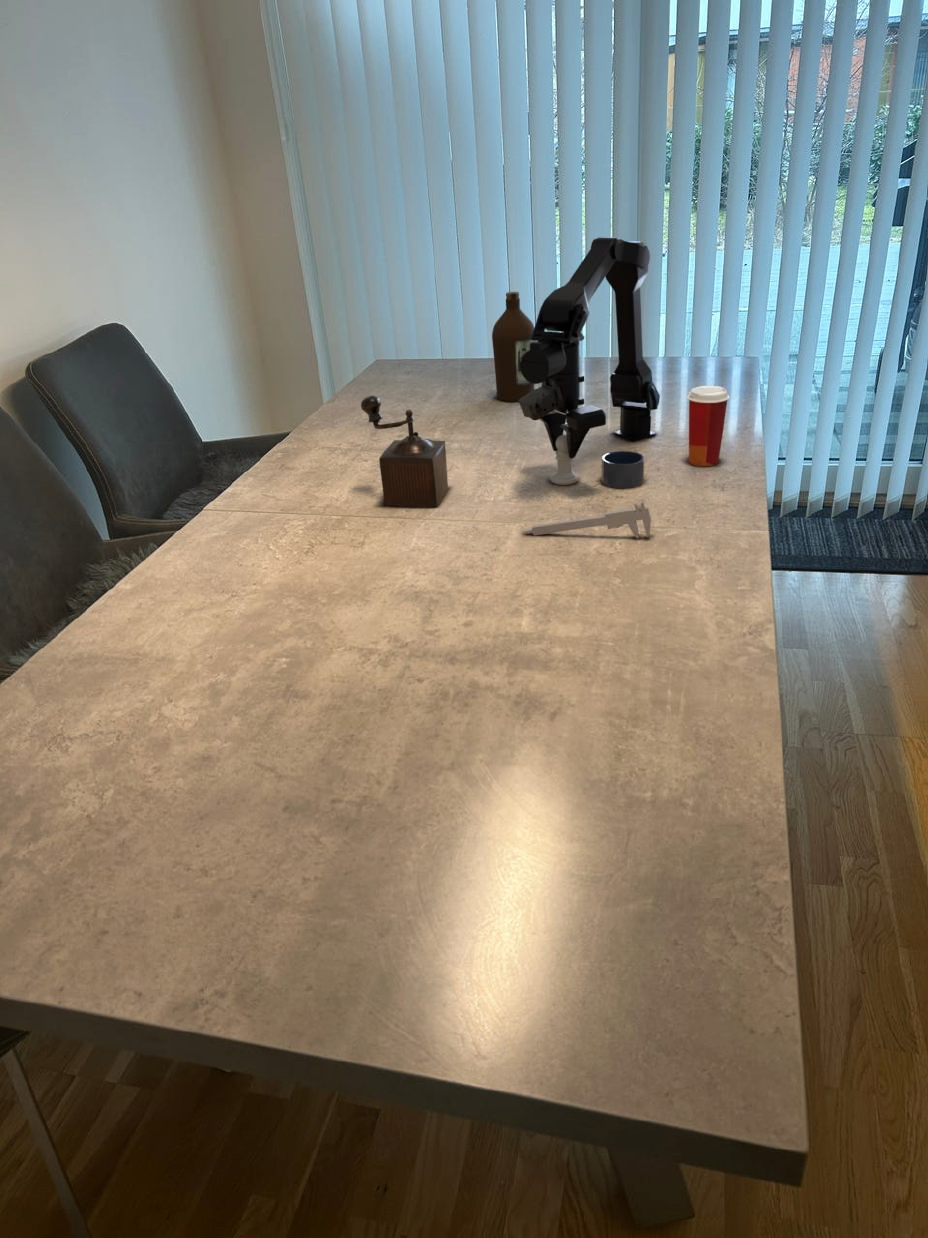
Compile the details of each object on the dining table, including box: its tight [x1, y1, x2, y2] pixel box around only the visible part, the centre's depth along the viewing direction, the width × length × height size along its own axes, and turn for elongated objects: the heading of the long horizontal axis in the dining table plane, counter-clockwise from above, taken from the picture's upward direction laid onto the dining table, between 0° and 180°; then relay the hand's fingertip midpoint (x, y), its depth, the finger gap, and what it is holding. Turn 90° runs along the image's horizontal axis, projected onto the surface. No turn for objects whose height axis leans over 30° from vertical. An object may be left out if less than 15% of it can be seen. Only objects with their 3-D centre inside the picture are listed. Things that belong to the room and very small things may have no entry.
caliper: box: [524, 500, 652, 539], centre depth 145 cm, size 20×1×6 cm, turn 78°
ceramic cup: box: [600, 450, 646, 489], centre depth 166 cm, size 8×8×5 cm
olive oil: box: [491, 291, 537, 403], centre depth 218 cm, size 11×11×25 cm
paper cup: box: [686, 385, 730, 467], centre depth 171 cm, size 8×8×14 cm
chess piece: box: [549, 433, 579, 486], centre depth 167 cm, size 5×5×9 cm
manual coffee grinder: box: [360, 395, 450, 508], centre depth 163 cm, size 16×11×18 cm
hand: (564, 454), depth 167 cm, fingers open, 5 cm apart
